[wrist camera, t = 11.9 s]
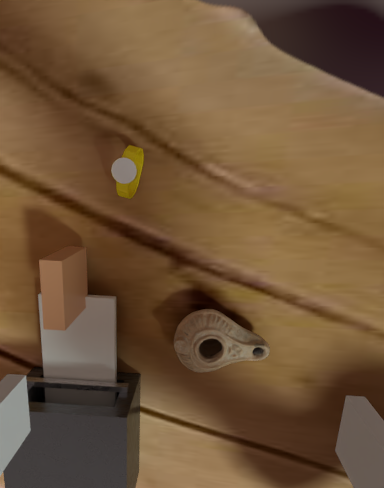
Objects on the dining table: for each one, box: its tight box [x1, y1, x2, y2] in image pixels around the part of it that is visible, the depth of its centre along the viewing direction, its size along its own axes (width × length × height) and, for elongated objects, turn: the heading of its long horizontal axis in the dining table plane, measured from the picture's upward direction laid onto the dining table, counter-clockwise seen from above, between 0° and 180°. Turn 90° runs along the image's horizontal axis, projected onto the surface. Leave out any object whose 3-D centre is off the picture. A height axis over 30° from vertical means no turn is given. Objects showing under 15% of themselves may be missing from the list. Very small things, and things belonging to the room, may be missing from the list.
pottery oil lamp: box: [174, 309, 270, 373], centre depth 37 cm, size 9×12×7 cm
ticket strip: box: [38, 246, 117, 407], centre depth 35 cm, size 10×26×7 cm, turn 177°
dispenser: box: [3, 367, 140, 488], centre depth 40 cm, size 16×19×8 cm
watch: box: [111, 145, 144, 199], centre depth 33 cm, size 6×3×6 cm, turn 165°
